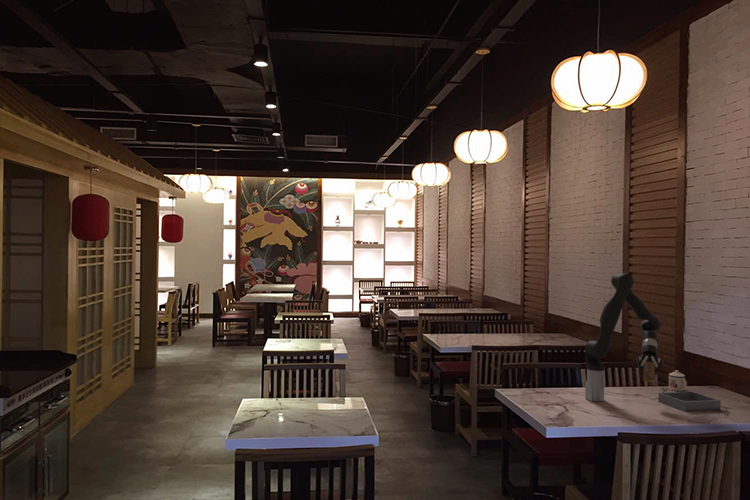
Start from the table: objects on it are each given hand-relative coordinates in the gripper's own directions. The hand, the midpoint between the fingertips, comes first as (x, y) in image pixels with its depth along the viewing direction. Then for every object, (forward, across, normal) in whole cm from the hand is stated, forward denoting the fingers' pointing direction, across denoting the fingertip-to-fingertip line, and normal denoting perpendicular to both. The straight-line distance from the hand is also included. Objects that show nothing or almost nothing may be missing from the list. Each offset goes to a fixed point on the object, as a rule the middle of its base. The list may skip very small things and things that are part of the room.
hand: (649, 373), depth 305 cm
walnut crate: (+2, 0, +4) cm, 5 cm away
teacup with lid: (-24, +16, +50) cm, 57 cm away
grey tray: (+3, +19, +22) cm, 30 cm away
